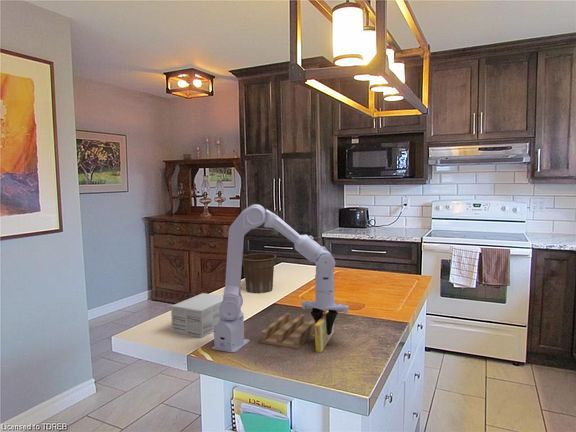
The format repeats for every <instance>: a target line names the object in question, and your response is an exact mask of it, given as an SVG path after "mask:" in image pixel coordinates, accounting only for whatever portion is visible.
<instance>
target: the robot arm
mask: <svg viewBox="0 0 576 432" xmlns="http://www.w3.org/2000/svg"><path fill="white" fill-rule="evenodd" d="M262 225H263V227H264V228H269V229H270V228H271V229H274V230H275V231H277V232H278V233H280V234H281V235H282V236H284V237H285V238H286V239H287V240H289V241H290V242H292V243H293V244H294V250H295V251H296V252H298V253H299V254H300V255H301V256H303V257H304V258H305V259H306V260H308V261H309V262H310V263H314V265H315V276H314V280H315V281H314V282H315V285H314V286H315V291H314V293H315V297H314V298H315V300H312V301H311V300H303V301H302V302H301V309H303V310H305V309H308V310H309V309H310V310H311V312H310V313H311V314H310V315H311V317H312V319H313V318H314V320H315V322H316V323H317V322H318V321H319V319H320V318H321V317H322V316H323V314H324V311H325V312H326V311H329V312H328V313H327V314H326V317H327V335H330V334H331V333H332V327H333V323H334V324H335V320H336V317H337V316H338V314H339V313H343V314H348V313H349V312H350V311H349V308H350V307H349V305H345V304H341V303H338V302H337V303H336V302H335V275H334V271H335V270H334V269H335V266H336V264H337V263H336V260H335V258H334V256H333V255H332V253H331V252H330V251H329V250H328V249H327V247H325V246H324V245H323V246H321V245H320V244H319V243H318V242H317V241H315V240H314V237H313V236H312V235H308V234H299V233H298V232H297V231H296V230H295V229H293V228H292V227H291V225H289V224H287V222H286V221H284V220H283V219H282V218H281V217H279V215H277V214H275V213H274V212H272V211H270V210H269V209H268V208H265V207H264V206H262V205H261V204H258V203H256V204H255V203H254V204H251V205H250V206H248V207H246V208H245V209H243V210H242V211H241V212H240V214H239V215H238V216H237V217H236V219H235V220H234V221H233V223H231V225H230V226H229V229H228V236H227V237H228V238H227V239H228V240H227V251H226V254H227V255H226V268H225V284H224V290H223V295H222V296H223V301H222V303H221V304H220V307H219V312H220V320H219V322H218V323H217V324H216V326H215V328H214V331H213V338H214V340H213V341H214V342H213V344H214V345H213V346H212V347H211V349H212V350H216V351H221V352H227V353H233V354H234V353H236V352H238V351H239V350H240V349H242V348H243V347H244V346H246V345H247V344H248V343H249V342H250V339H247V338H246V339H245V327H244V325H245V321H244V319H245V318H244V313H243V312H242V310H241V309H242V306H243V302H244V299H243V295H242V293H241V291H242V288H241V287H242V286H241V282H242V271H243V269H242V267H243V263H242V256H244V254H243V253H244V241H245V240H244V237H245V235H246V234H247V233H249V232H250V231H251V230H252V229H256V228H259V227H260V226H262Z"/></svg>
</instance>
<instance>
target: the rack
mask: <svg viewBox="0 0 576 432" xmlns="http://www.w3.org/2000/svg"><path fill="white" fill-rule="evenodd" d="M305 319H306V315H305V314H299V315H298V316H297V317H296V318H294V319H291V312H285V313H284V314H282V315H281V316H279V318H277V319H276V320H274V321H273V322H272V323H270V324H269V325H268V326H266V327H265V328H263V330H261V331H260V344H266V345H272V346H276V347H286V348H291V349H300V348H301V347H302V346H303V344H305V343H306V342H307V340H308V339H309V338H310V337H311V336H312V335H313V334H315V324H316V322H315V320H314V318H313V317H312V319H310V321H306V320H305Z"/></svg>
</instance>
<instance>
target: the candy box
mask: <svg viewBox="0 0 576 432" xmlns="http://www.w3.org/2000/svg"><path fill="white" fill-rule="evenodd" d="M328 312H329V311H326V310H325V312H323V316H322V317H321V318H320V319H319V321H318V322H317V323H316V324H315V332H314V339H315V340H314V341H315V342H314V345H315V352H316V353H322V352H323V351H324V349H325V348H326V347H327V344H328V343H329V342H330V340H331V339H332V337H333V336H334V334H335V322H334V323H333V327H332V333H331V334H330V335H327V317H326V314H327V313H328Z"/></svg>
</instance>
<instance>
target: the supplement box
mask: <svg viewBox="0 0 576 432" xmlns="http://www.w3.org/2000/svg"><path fill="white" fill-rule="evenodd" d="M222 301H223V295H220V294H211V293H206V292H202V293H199V294H198V295H195V296H192V297H190V298H188V299H185V300H182V301H180V302H177V303H175V304H172V305H170V310H171V330H172V331H171V332H172V333H177V334H180V335H181V334H182V335H185V336H192V337H196V338H200V339H203V338H205V337H206V336H208V335H210V334H211V333H214V328H215V326H216V324H217V323H218V322H219V320H220V312H219V307H220V304H221V303H222Z"/></svg>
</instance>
